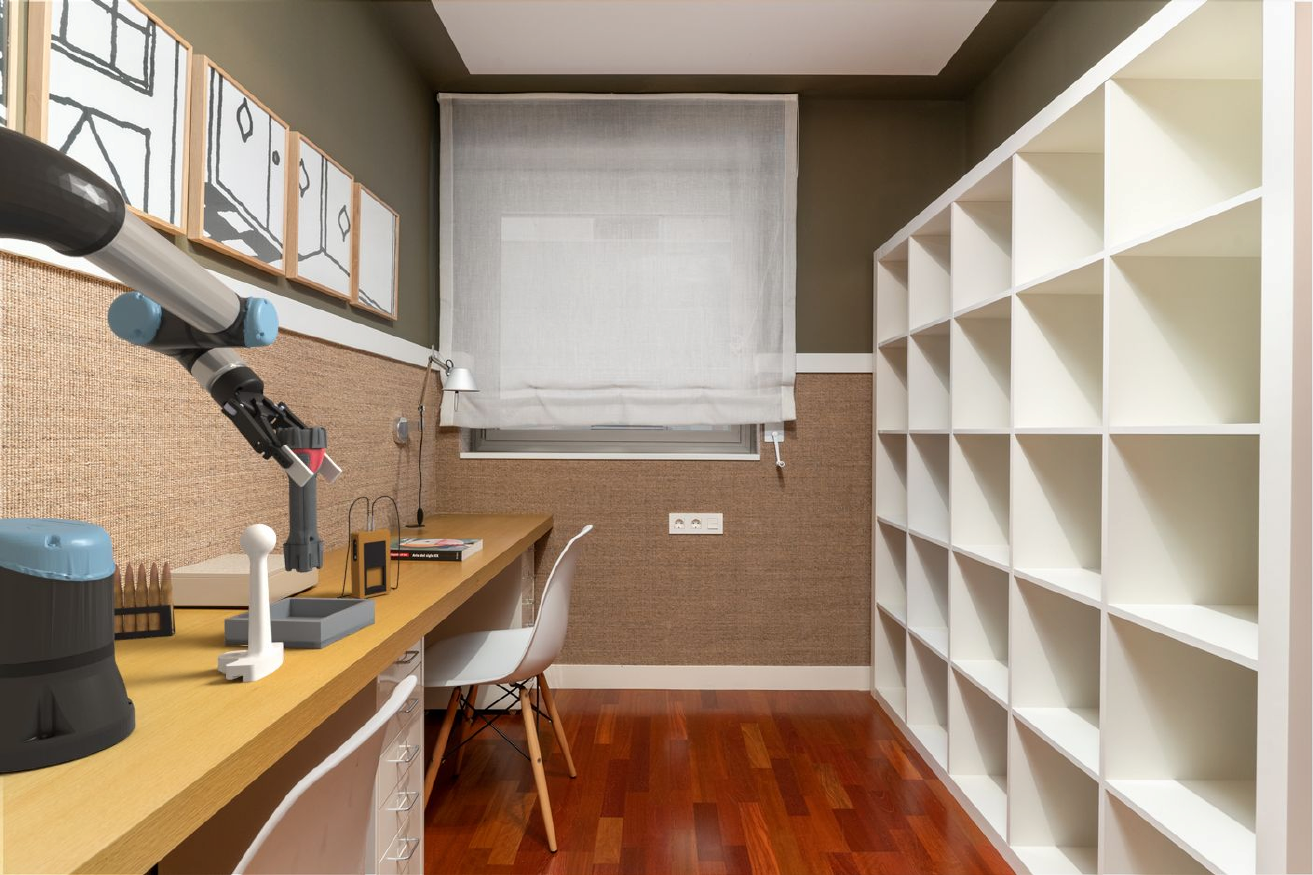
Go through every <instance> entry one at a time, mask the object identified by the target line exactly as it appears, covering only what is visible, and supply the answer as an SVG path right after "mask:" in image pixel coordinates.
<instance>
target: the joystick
mask: <svg viewBox="0 0 1313 875" xmlns="http://www.w3.org/2000/svg"><path fill="white" fill-rule="evenodd" d="M276 542H277V535H276V533H275V531H274V529H272V528H271V527H270V526H268V525H266V524H262V523H257V524H256V523H255V524H252V525H250V526H247V528H245V529H244V530H243V531H242V533H241V534H240V538H239V546H240V548H241V550H242V551H243V552H244V553H245V555H247V557H248V559H249V588H248V590H249V594H248V596H249V597H248V599H249V600H248V611H249V631H248V646H247V650H244V649H243V650H231V651H227V652H223V653H221V654H219V655H217V671H218V672H221V674H223V675H225V679H226V680H234V679H237V678H239V677H242V682H243V683H251V682H256V681H258V680H260V679H262V678H265V677H266V676H269V675H271V674H272V673H274V672H275V671H277V670H278V669H279V668H280V667H281V665H282V664H283V663H284V656H285V655H284V647H283V643H282V642H278V643H271V626H270V608H269V604H270V594H269V593H270V592H269V573H268V557H269V554H270V553H271V552H272V551H273V549H274V548H275V546H276V544H277V543H276Z"/></svg>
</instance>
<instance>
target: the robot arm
mask: <svg viewBox="0 0 1313 875" xmlns="http://www.w3.org/2000/svg"><path fill="white" fill-rule="evenodd" d="M0 239H12V240H18V241H19V240H20V241H26V242H33V243H36V244H40V245H43V246H44V245H45V246H46V247H48V248H50V249H51V250H53V251H55V252H57V253H58V254H60V255H62V256H65V257H69V258H83V259H85V260H86V261H88V262H89V263H91V264H93V265H95V266H96V267H98V268H99V269H100V270H102V271H104V272H105V273H107V274H109V275H110V276H112V277H113V278H115V279H117V280H118V281H120V282H122V283H123V284H124V285H126V286H128V287H130V288H131V289H133V290H134V291H127V292H124V293H121V294H120V295H119V296H117V297H116V298H115V299H113V300H112V302H111V303H110V306H108V307H109V308H108V311H107V314H106V316H107V318H106V319H107V324H108V327H109V330H110V331H111V332H112V333H113V334H114V335H115V336H116V337H118V338H119V339H121V340H124V341H126V342H128V343H129V344H131V345H133V346H135V347H136V346H139V347H142V348H145V349H147V350H150V351H153V352H156V353H159V354H162V355H164V356H167V357H170V358H173V359H175V360H176V361H177V362H178V363H179V364H180V365H181V366H182V367H183V368H184V369H185V370H186V371H187V372H188V373H189V374H190V376H191V377H193V378H194V379H195V381H196V382H197V383H198V384H199V387H200V389H204V390H205V392H207V393H208V394H209V395H210V397H211V398H212V399H213V401H215V402H216V403H217V405H218V406H219V407H220V408H221V409H220V412H221V413H222V414H223V415H224V416H225V417H227V418H228V419H229V420H230V421H231V422H232V423H233V425H234V427H236V429H237V430H238V432H239V433H240V434H241V435H242V436H243V437H244V439H245V440H246V441H247V443H248V444H249V445H250V447H252V449H253V450H254V451H255V453H257V454H260V455H262V456H261V457H262V458H263V459H264V460H265V461H266V460H267V461H269V460H270V458H272V459H273V460H275V462H276V463H277V464H278V465H279V466H280V467H281V468H282V469H283V471H286V472H287V473H288V474H289V475H290V476H291V478H292V479H293V480H294V481H295V482H296V483H297V484H298V485H299V486H300V487H302V486H304V485H305V484H306V482H307V481H308V480H309V479H310V478H311V477H312V476H313V475H314V474H313V473H312V472H311V470H310V469H309V468H308V467H307V466H306V465H305V464H304V463H303V462H302V461H301V460H300V459H299V458H298V457H297V456H296V455H295V454H294V452H293V451H292V450H291V449H290V448H289V447H288V446H287V445H283V446H282V448H281V447H280V446H281V443H280V441H279V439H278V437H277V436H276V429H277V428H282V429H284V428H289V427H299V429H304V428H310V427H308V425H306V423H305V422H303V421H302V420H301V419H300V418H299V417H298V416H297V415H296V414H295V413H293V411H292V410H291V409H290V408H289V407H288V405H287V404H286V403H285V402H283V401H279V402H278V403H277V404H276V403H275V404H274V401H272V399H270V398H269V397H267V396H265V395H264V389H265V382H264V381H263V380H262V378H261V377H259V375H258V374H257V373H256V372H255V371H254V370H253V369H252V368H251V367H249V365H248V364H247V362H246V361H245V360H244V359H243V358H242V357H241V356H240V355H239V354H238V353H237V352H236V351H235V350H234V349H240V348H241V349H251V348H260V347H268V346H271V345H272V344H273V343H274V342H275V341H276V339H277V337H278V334H279V327H280V326H279V315H278V312H277V309H276V308H275V306H274V304H273V303H272V302H271V300H269V299H267V298H264V297H254V296H249V297H243V296H241V295H239V294H238V293H237V292H235V291H234V290H232V289H231V288H230V287H229V286H227V285H226V284H225V283H223V282H222V281H221V280H220V279H219V278H217V277H216V276H215V275H214V274H212V273H211V272H210V271H208V270H207V269H206V268H204V267H203V266H202V265H200V264H199V263H198V262H197V261H195V260H194V259H193V258H192V257H191V256H189V255H188V254H186V253H185V252H184V251H182V250H181V248H180V249H179V247H178V246H176V245H175V244H173V242H171V241H169V240H168V239H167V238H165V237H164V236H163V235H161V234H160V233H159V232H158V231H156V230H155V228H152V227H151V226H150V225H149V224H148V223H146V222H145V221H144V220H142V219H141V218H139V217H138V215H136V214H135V213H134V212H132V211H131V210H129V209H128V208H127V203H126V200H125V198H124V197H123V195H122V194H121V192H120V191H119V190H117V188H116V187H114V186H113V185H111V184H110V183H109V182H108V181H107V180H105V179H103V178H102V177H101V176H99V175H98V174H97V173H96V172H94V171H93V170H91V169H90V168H89V167H88V166H85V165H84V164H83V163H80V162H79V161H77V160H76V159H74V158H72V157H70V156H69V155H67V154H66V153H63V152H61V151H60V150H58V149H56V148H55V147H53V146H50V145H48V144H47V143H45V142H43V141H41V140H38V139H36V138H34V137H31V136H29V135H27V134H24V133H22V132H20V131H18V130H17V131H16V130H14V129H11V128H8V127H5V126H2V125H0ZM263 453H264V454H263ZM286 472H285V473H286ZM318 473H320V474H321V476H322V477H323V478H325V479H326V481H327V482H328V483H329V484H331V483H334V481H336V480H337V478H339V476H340V475H341V474H342V473H343V470H342V469H341V468H340V467H339V466H338V465H337V463H336V462H334V461H333V460H332V458H331V457H329V455H328V454H327V453H326V452H325V454H324V458H323V462H322V465H321V468H320V470H319V472H318ZM112 544H113V543H112V538H111V535H110V534H109V533H108V531H107V530H106V529H105V528H103V527H102V526H101V525H98V524H95V523H92V522H87V521H84V520H83V521H82V520H77V519H76V520H75V519H66V518H53V517H52V518H49V517H44V518H37V517H36V518H35V517H12V518H11V517H10V518H0V773H8V772H10V773H11V772H18V771H24V770H25V771H26V770H32V769H36V768H43V767H47V766H52V765H56V764H61V763H65V762H68V761H71V760H76V759H80V758H83V757H85V756H88V755H89V756H90V755H92V754H94V753H97V752H100V751H102V750H104V749H105V750H106V749H107V748H110V747H111V746H114V745H116V744H118V743H119V742H121V741H123V740H125V739H126V738H127V737H129V736H130V735H131V734H133V732H134V730H135V729H136V708H135V704H134V702H133V700H132V699H131V698H129V697H128V693H127V688H126V685H125V682H124V680H123V676H122V674H121V672H120V669H119V666H118V664H117V661H116V654H115V648H116V647H115V641H114V639H115V635H114V571H115V564H116V562H115V560H114V557H113V556H114V555H113V554H114V553H113V546H112Z"/></svg>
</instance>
